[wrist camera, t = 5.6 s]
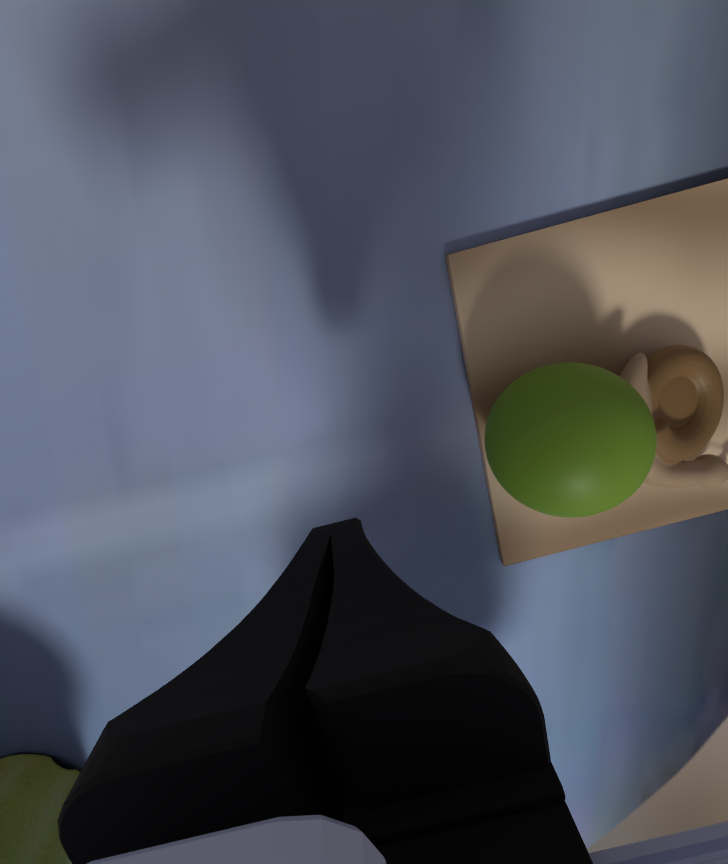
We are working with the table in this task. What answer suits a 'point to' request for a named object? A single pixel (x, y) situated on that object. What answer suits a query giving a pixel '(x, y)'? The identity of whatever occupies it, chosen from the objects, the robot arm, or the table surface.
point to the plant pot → (32, 809)
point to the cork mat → (596, 335)
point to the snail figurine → (606, 431)
